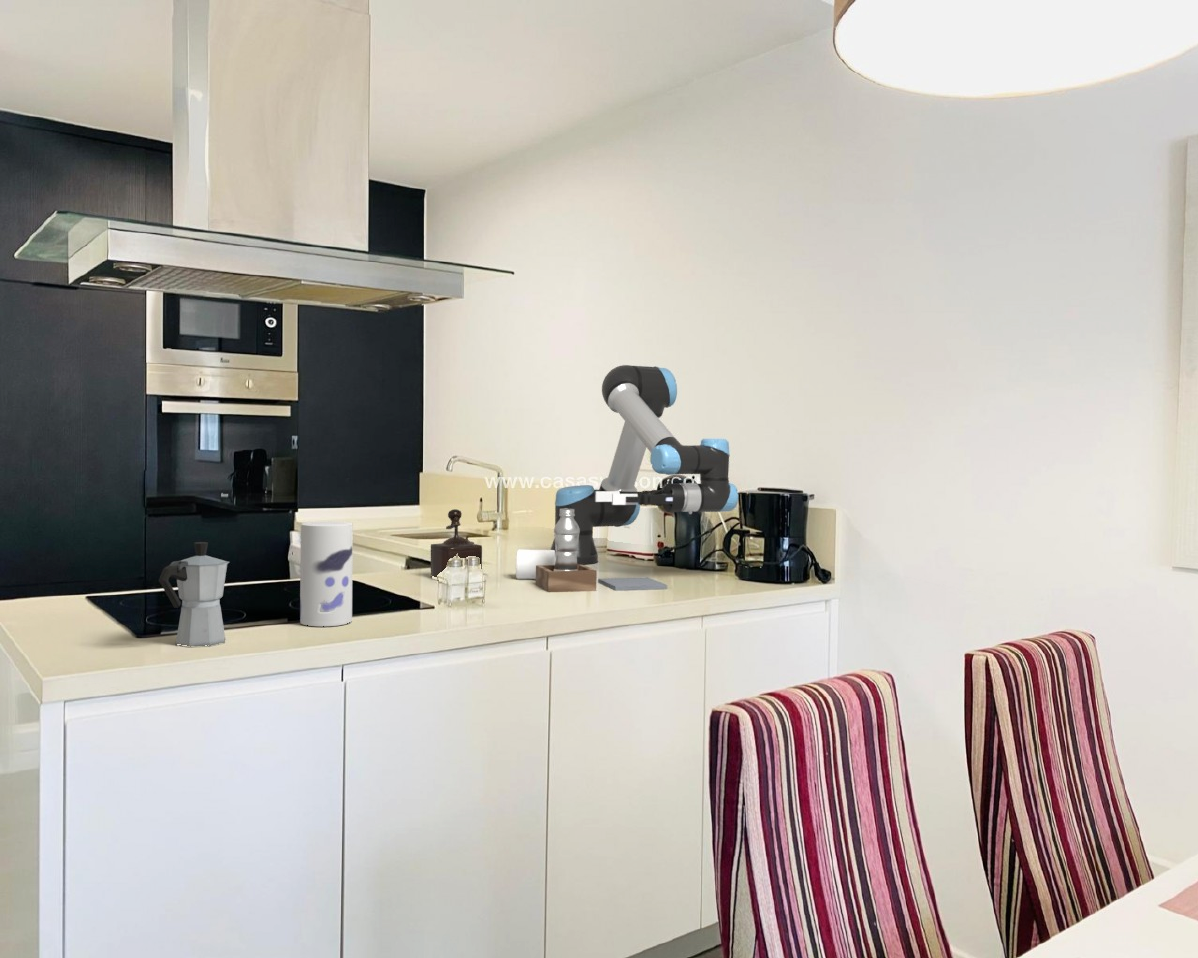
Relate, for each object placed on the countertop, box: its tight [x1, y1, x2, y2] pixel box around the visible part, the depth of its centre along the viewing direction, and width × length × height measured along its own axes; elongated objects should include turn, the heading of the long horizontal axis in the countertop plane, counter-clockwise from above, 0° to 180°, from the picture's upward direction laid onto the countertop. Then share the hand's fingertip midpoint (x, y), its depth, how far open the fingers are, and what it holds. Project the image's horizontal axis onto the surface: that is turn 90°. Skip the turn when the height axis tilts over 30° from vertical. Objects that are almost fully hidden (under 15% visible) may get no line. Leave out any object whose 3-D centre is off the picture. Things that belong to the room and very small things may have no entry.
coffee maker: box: [158, 541, 230, 647], centre depth 172 cm, size 15×9×18 cm, turn 154°
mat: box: [597, 576, 668, 591], centre depth 251 cm, size 14×14×1 cm
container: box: [299, 520, 354, 627], centre depth 194 cm, size 10×10×20 cm
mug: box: [515, 548, 555, 581], centre depth 262 cm, size 12×10×8 cm
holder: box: [535, 564, 598, 593], centre depth 246 cm, size 12×12×5 cm
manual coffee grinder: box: [430, 508, 483, 577], centre depth 259 cm, size 16×11×18 cm
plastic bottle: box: [553, 509, 580, 571], centre depth 245 cm, size 6×7×20 cm
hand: (603, 497), depth 248 cm, fingers open, 13 cm apart
